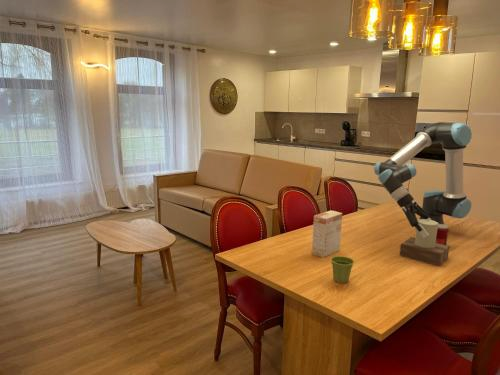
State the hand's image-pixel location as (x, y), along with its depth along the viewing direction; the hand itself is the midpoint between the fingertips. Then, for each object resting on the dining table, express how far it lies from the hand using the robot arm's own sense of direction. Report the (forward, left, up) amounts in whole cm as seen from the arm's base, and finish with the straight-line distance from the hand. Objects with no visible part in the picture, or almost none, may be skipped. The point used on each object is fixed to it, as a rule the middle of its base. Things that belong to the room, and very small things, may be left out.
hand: (431, 233), depth 177 cm
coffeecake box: (+29, -39, -13) cm, 50 cm away
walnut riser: (0, -2, -12) cm, 13 cm away
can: (0, -2, -7) cm, 7 cm away
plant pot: (+52, -18, -13) cm, 56 cm away
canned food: (-22, -2, -13) cm, 25 cm away
